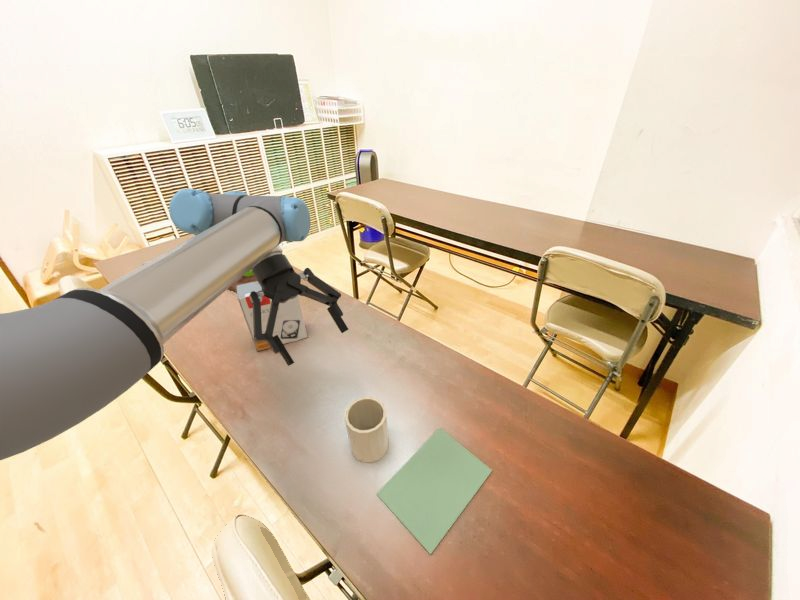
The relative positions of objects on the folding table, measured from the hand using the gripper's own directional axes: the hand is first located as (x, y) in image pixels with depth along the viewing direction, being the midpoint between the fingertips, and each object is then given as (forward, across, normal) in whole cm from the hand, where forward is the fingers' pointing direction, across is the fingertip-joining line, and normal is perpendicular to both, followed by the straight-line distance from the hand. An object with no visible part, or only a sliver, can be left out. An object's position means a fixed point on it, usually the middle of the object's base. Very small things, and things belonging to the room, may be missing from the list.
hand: (319, 347), depth 68 cm
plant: (-37, -13, -67) cm, 78 cm away
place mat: (+36, -4, +6) cm, 37 cm away
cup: (+25, 0, -5) cm, 25 cm away
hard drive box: (-8, -4, -38) cm, 39 cm away
